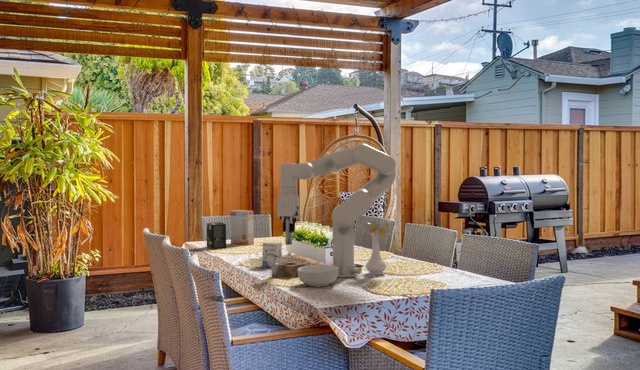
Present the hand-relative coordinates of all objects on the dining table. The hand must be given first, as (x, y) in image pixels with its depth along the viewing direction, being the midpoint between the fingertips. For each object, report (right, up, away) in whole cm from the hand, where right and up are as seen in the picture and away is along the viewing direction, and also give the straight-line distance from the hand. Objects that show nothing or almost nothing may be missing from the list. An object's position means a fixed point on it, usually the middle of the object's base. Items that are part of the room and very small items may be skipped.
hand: (288, 231), depth 265 cm
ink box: (-9, -19, +24) cm, 32 cm away
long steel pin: (0, -6, 0) cm, 6 cm away
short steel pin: (-6, -20, -4) cm, 21 cm away
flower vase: (+40, -19, +2) cm, 44 cm away
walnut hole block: (+1, -20, +1) cm, 20 cm away
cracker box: (-34, -16, +102) cm, 109 cm away
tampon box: (-47, -17, +87) cm, 101 cm away
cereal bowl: (+13, -21, -21) cm, 32 cm away
